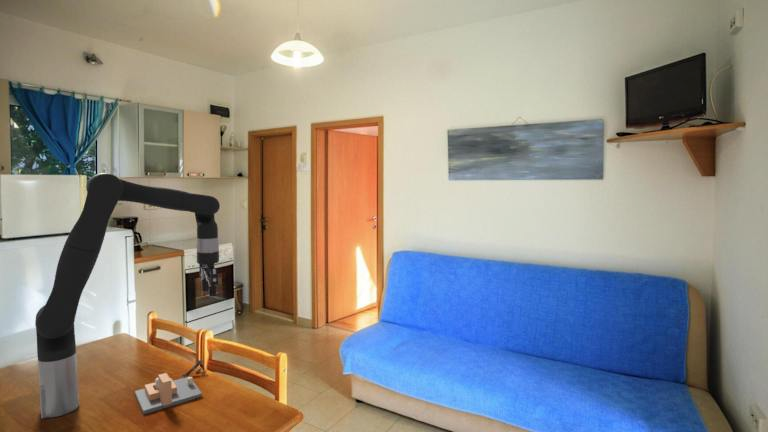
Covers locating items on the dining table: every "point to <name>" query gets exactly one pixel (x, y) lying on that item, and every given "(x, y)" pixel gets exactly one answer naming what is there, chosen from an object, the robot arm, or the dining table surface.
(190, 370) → the wooden post with brackets
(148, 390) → the peach open lidded box
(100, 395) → the dining table surface
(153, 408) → the post base
